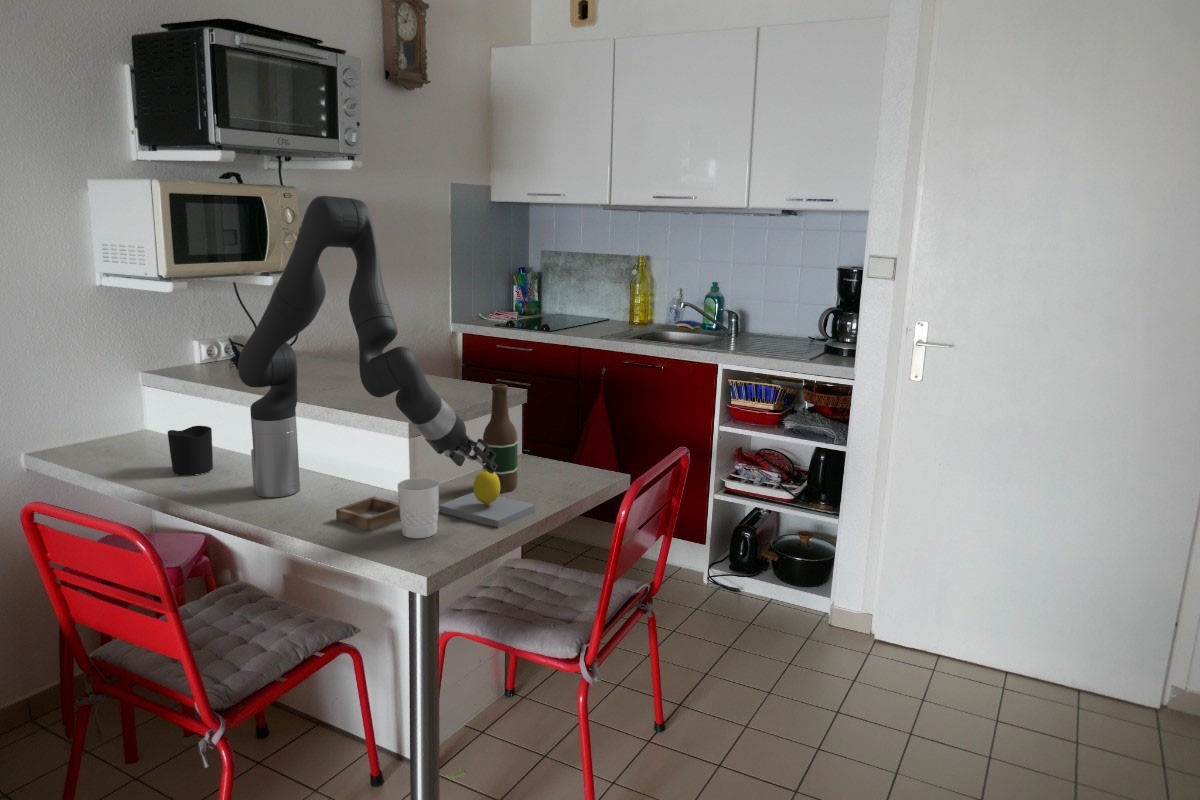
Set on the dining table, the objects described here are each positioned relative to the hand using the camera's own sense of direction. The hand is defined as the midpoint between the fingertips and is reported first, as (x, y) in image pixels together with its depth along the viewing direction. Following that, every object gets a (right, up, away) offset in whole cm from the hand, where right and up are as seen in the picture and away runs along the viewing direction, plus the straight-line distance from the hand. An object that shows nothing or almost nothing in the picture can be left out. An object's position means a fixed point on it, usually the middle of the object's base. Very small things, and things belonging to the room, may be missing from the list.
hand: (477, 466), depth 180 cm
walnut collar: (-21, -11, -1) cm, 24 cm away
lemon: (+1, -9, +4) cm, 10 cm away
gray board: (+1, -10, +4) cm, 11 cm away
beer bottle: (+2, -7, +20) cm, 21 cm away
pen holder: (-72, -4, +29) cm, 77 cm away
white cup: (-10, -13, -8) cm, 18 cm away
